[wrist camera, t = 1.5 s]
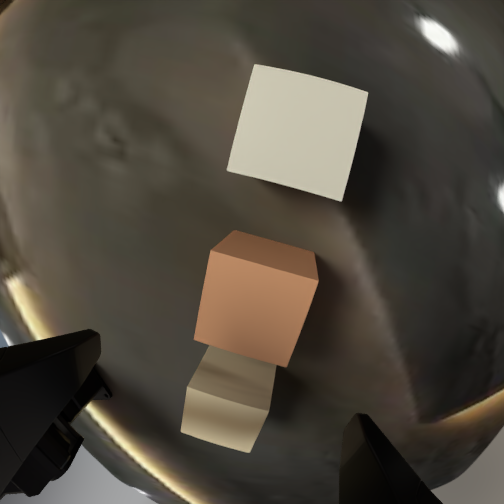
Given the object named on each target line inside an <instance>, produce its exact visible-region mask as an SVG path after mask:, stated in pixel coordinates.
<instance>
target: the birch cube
mask: <svg viewBox="0 0 504 504" xmlns="http://www.w3.org/2000/svg"><path fill="white" fill-rule="evenodd" d="M275 372H276V365H275V364H272V363H268V362H264V361H261V360H257V359H254V358H250V357H247V356H243V355H240V354H236V353H233V352H230V351H227V350H224V349H220V348H217V347H214V346H211V345H209V347H208V349H207V351H206V353H205V355H204V357H203V359H202V360H201V362H200V364H199V366H198V368H197V370H196V372H195V374H194V375H193V377H192V379H191V381H190V383H189V385H188V387H187V392H186V399H185V405H184V412H183V419H182V426H181V432H182V433H185V434H188V435H191V436H193V437H196V438H199V439H202V440H205V441H209V442H212V443H215V444H218V445H222V446H225V447H229V448H232V449H236V450H239V451H243V452H247V453H250V451H251V449H252V446H253V444H254V442H255V440H256V438H257V436H258V434H259V432H260V430H261V428H262V426H263V423H264V421H265V419H266V417H267V415H268V413H269V409H270V403H271V397H272V391H273V384H274V378H275Z"/></svg>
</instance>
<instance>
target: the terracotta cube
mask: <svg viewBox="0 0 504 504" xmlns="http://www.w3.org/2000/svg"><path fill="white" fill-rule="evenodd" d="M318 282H319V279H318V273H317V267H316V261H315V255H314V252H311V251H308V250H304V249H301V248H297V247H294V246H290V245H287V244H283V243H280V242H276V241H273V240H269V239H265V238H262V237H258V236H255V235H251V234H247V233H244V232H240V231H236V230H234V231H233V232H232V233H230V234H229V235H228V236H227V237H226V238H225V239H223V240H222V241H221V242H220V243H219V244H218V245H216V246H215V247H214V248H213V249H212V250H211V252H210V257H209V262H208V266H207V271H206V277H205V282H204V287H203V292H202V297H201V303H200V308H199V313H198V319H197V324H196V330H195V336H194V340H196V341H199V342H202V343H205V344H208V345H211V346H214V347H217V348H220V349H224V350H227V351H230V352H233V353H236V354H240V355H243V356H247V357H250V358H254V359H257V360H261V361H264V362H268V363H272V364H275V365H279V366H283V367H287V365H288V362H289V360H290V357H291V355H292V352H293V350H294V347H295V345H296V342H297V340H298V337H299V334H300V332H301V329H302V326H303V324H304V321H305V318H306V316H307V313H308V310H309V307H310V305H311V302H312V299H313V296H314V293H315V290H316V288H317V285H318Z"/></svg>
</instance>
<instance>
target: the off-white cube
mask: <svg viewBox="0 0 504 504" xmlns="http://www.w3.org/2000/svg"><path fill="white" fill-rule="evenodd" d="M367 96H368V92H365V91H362V90H359V89H356V88H353V87H350V86H347V85H343V84H340V83H337V82H333V81H330V80H326V79H322V78H318V77H315V76H311V75H306V74H302V73H298V72H293V71H289V70H284V69H279V68H273V67H268V66H262V65H256V64H254V68H253V71H252V75H251V78H250V82H249V86H248V89H247V93H246V97H245V100H244V104H243V108H242V112H241V115H240V119H239V123H238V127H237V131H236V135H235V139H234V143H233V147H232V151H231V155H230V159H229V163H228V167H227V171H230V172H234V173H238V174H242V175H246V176H251V177H255V178H259V179H263V180H266V181H270V182H274V183H278V184H282V185H285V186H289V187H293V188H296V189H300V190H303V191H307V192H310V193H314V194H317V195H321V196H324V197H327V198H331V199H334V200H337V201H341V202H342V198H343V195H344V191H345V188H346V184H347V180H348V177H349V173H350V169H351V165H352V161H353V157H354V153H355V149H356V145H357V141H358V137H359V133H360V128H361V124H362V120H363V115H364V111H365V106H366V101H367Z"/></svg>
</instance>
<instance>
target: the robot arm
mask: <svg viewBox="0 0 504 504" xmlns="http://www.w3.org/2000/svg"><path fill="white" fill-rule="evenodd" d="M100 354H101V341H100V334H99V333H98V332H96V331H94V330H92V329H87V330H83V331H78V332H74V333H69V334H65V335H61V336H56V337H52V338H47V339H42V340H38V341H33V342H28V343H23V344H18V345H13V346H9V347H8V348H7V347H3V348H0V500H1V499H2V498H3V496H5V495H6V494H17V493H24V494H26V495H27V496H28V497H31V496H35V495H39V494H40V492H41V491H42V490H43V489H44V487H45V486H46V485H47V484H48V482H49V481H54V480H56V479H58V478H60V477H61V476H62V475H63V474H64V473H65V472H66V471H67V470H68V468H69V467H70V465H71V463H72V461H73V459H74V458H75V456H76V453H77V452H78V450H79V448H80V446H81V444H82V442H83V440H84V438H83V437H82V436H81V435H80V434H78V433H77V432H76V431H75V429H74V428H73V427H72V426H71V425H70V424H71V423H72V422H73V421H74V420H75V419H76V417H77V416H78V415H79V414H80V413H81V412H82V411H83V409H84V408H85V407H86V406H87V405H88V404H89V403H90V401H91V400H108V399H111V397H112V393H111V392H110V391H109V389H108V388H107V386H106V385H105V383H104V382H103V380H102V379H101V377H100V376H99V374H98V373H97V371H96V370H95V368H94V367H93V366H94V365H95V363H96V362H97V360H98V359H99V357H100ZM339 504H443V503H442V502H441V501H440V500H439V499H438V498H437V497H436V496H435V495H434V494H433V493H432V492H431V490H430V489H429V488H428V487H427V486H426V485H425V483H424V482H423V481H421V479H420V478H419V476H418V475H417V474H416V473H415V472H414V470H413V469H412V468H411V467H410V465H409V464H408V463H407V462H406V461H405V459H404V458H403V457H402V456H401V455H400V453H399V452H398V451H397V450H396V448H395V447H394V446H393V445H392V444H391V442H390V441H389V440H388V439H387V437H386V436H385V435H384V434H383V433H382V431H381V430H380V429H379V428H378V426H377V425H376V424H375V423H374V422H373V420H372V419H371V418H370V417H369V416H368V415H367V414H362V413H356V414H355V415H354V416H353V418H352V419H351V420H350V422H349V423H348V425H347V426H346V428H345V430H344V433H343V443H342V452H341V461H340V470H339Z"/></svg>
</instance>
